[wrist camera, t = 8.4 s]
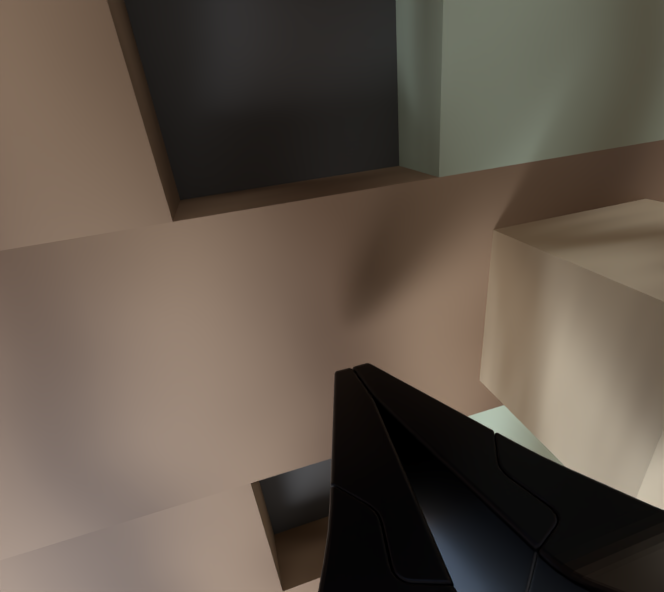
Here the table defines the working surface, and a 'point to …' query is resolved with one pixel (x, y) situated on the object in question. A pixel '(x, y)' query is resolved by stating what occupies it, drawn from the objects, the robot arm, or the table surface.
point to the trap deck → (269, 251)
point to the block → (584, 340)
